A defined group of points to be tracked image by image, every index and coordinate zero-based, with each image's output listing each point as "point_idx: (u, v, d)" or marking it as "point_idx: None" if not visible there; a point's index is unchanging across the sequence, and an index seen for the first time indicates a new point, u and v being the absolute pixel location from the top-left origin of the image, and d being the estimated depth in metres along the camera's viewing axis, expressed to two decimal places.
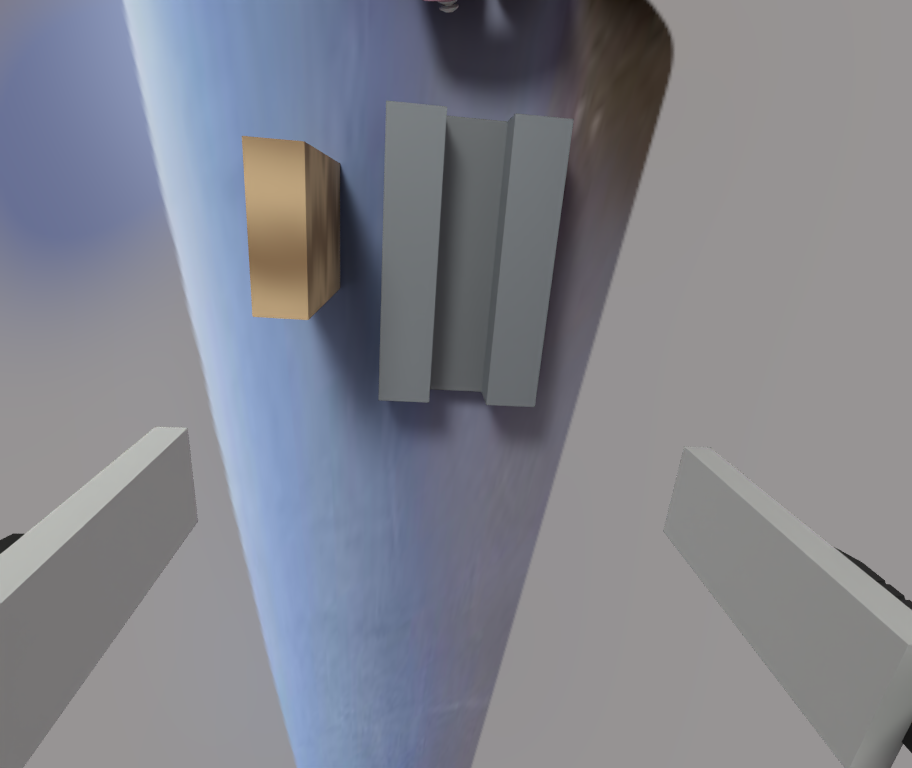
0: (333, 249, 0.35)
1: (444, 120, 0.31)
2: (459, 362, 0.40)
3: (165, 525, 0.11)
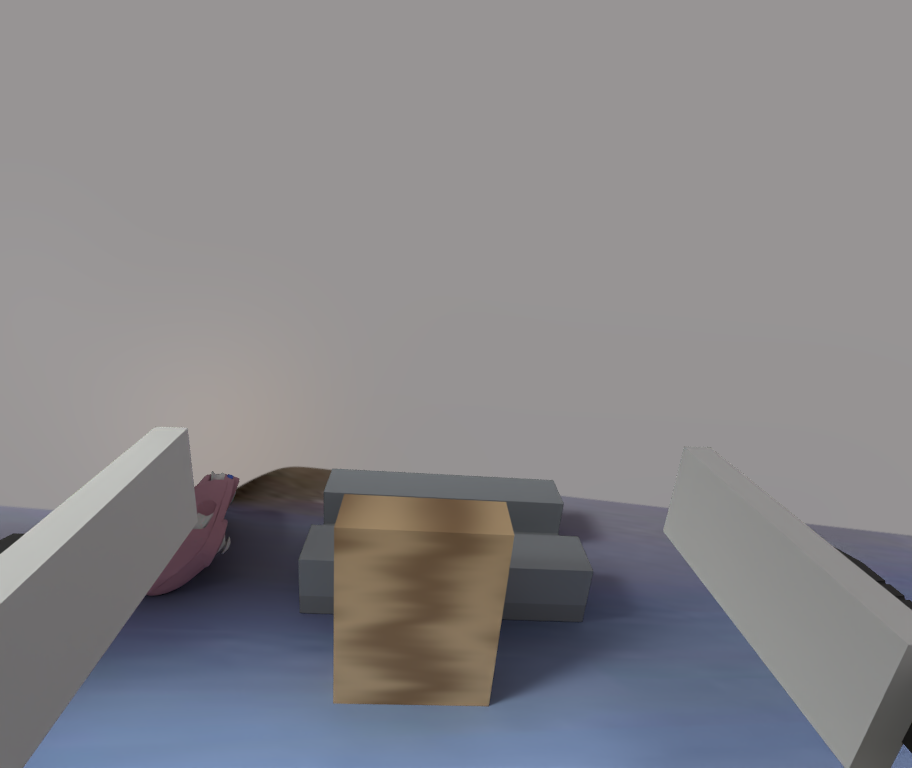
0: None
1: (322, 525, 0.36)
2: None
3: (165, 525, 0.11)
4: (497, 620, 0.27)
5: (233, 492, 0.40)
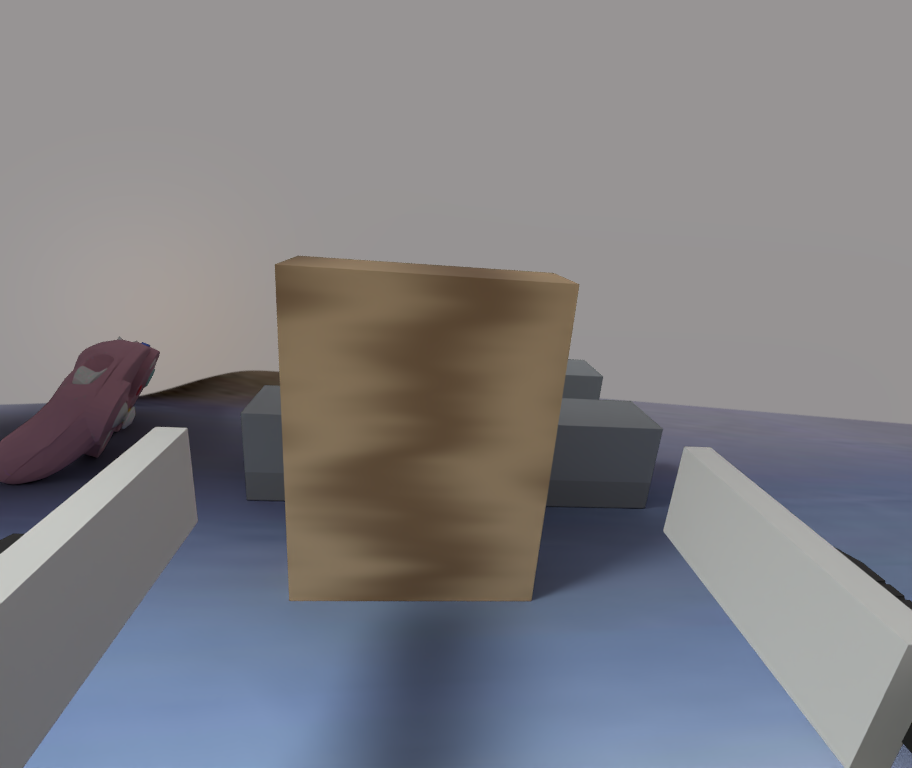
0: None
1: (279, 386, 0.26)
2: None
3: (165, 525, 0.11)
4: (547, 449, 0.17)
5: (148, 363, 0.29)
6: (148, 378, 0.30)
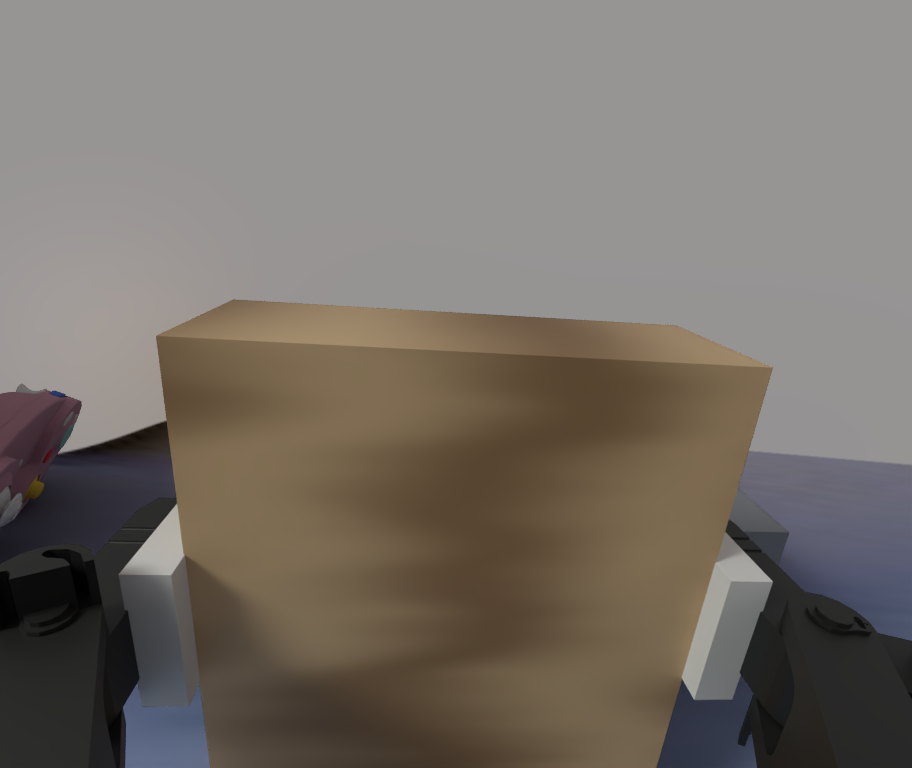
0: None
1: None
2: None
3: None
4: (679, 649, 0.09)
5: (59, 420, 0.22)
6: (62, 438, 0.23)
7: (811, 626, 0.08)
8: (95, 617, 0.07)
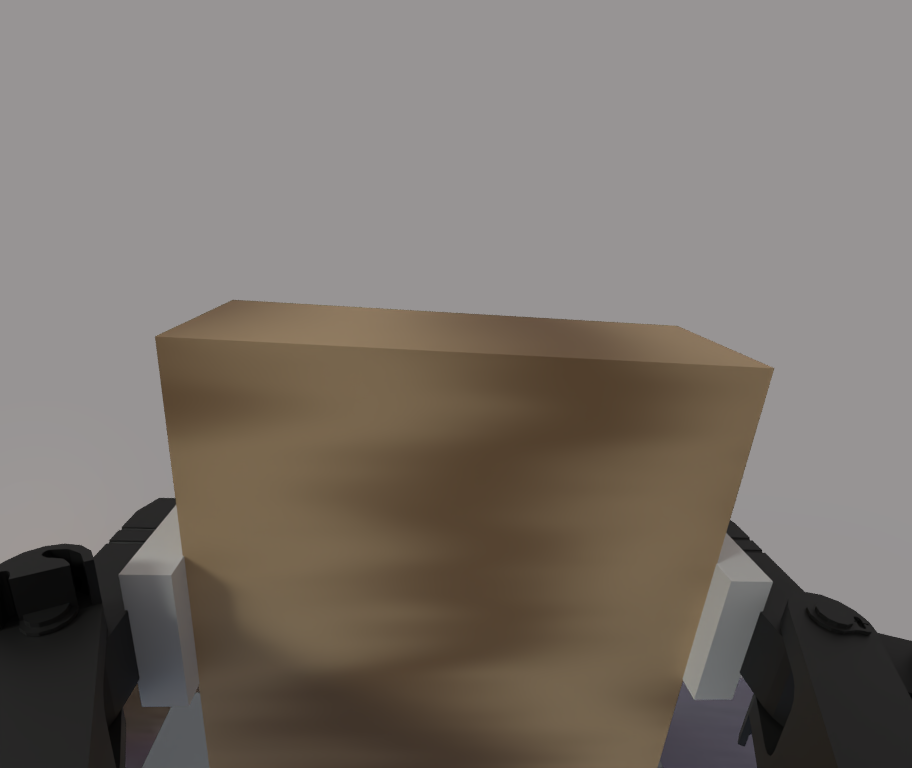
0: None
1: None
2: None
3: None
4: (680, 650, 0.09)
5: None
6: None
7: (811, 626, 0.08)
8: (95, 617, 0.07)
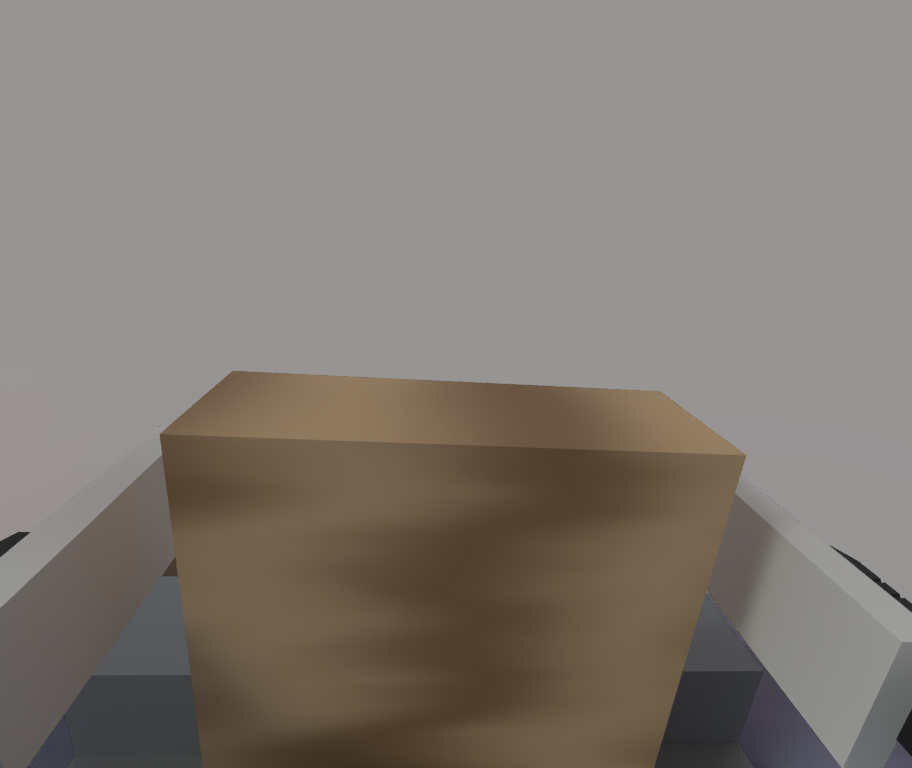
0: None
1: None
2: None
3: (168, 524, 0.11)
4: (660, 708, 0.10)
5: None
6: None
7: None
8: None
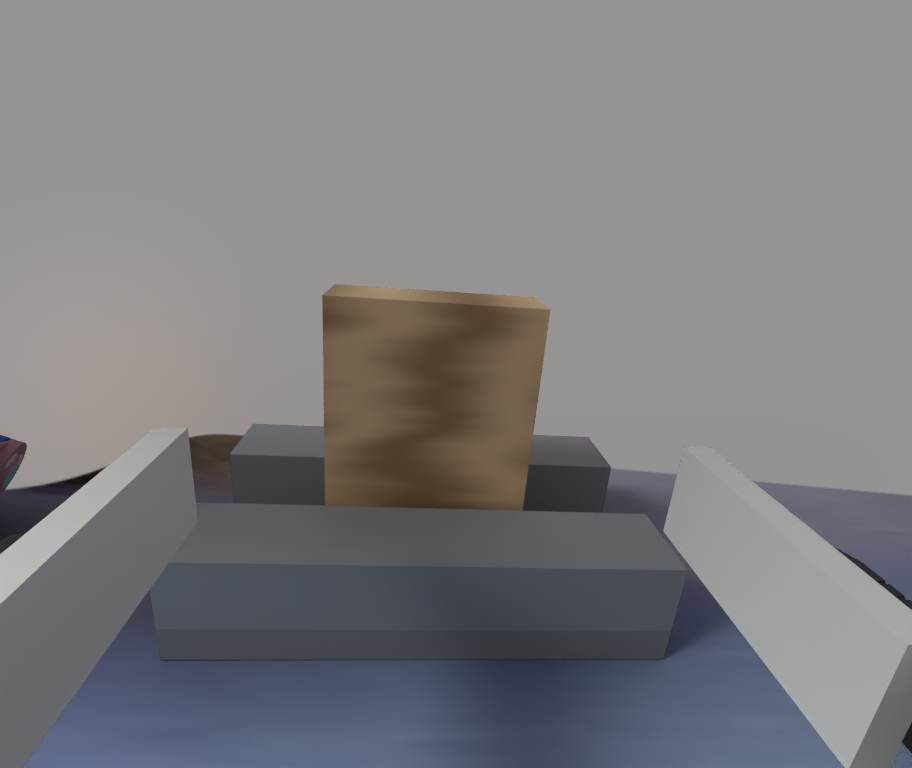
0: None
1: (210, 503, 0.21)
2: None
3: (165, 525, 0.11)
4: (527, 435, 0.22)
5: (0, 463, 0.24)
6: (5, 479, 0.24)
7: None
8: None
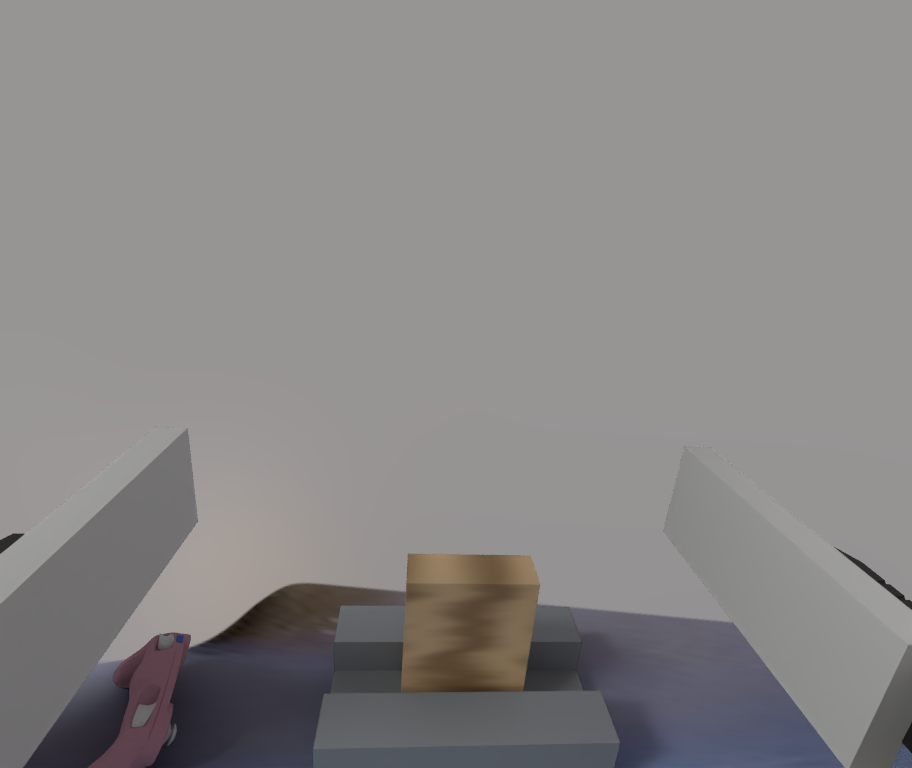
0: None
1: (335, 694, 0.35)
2: (554, 691, 0.39)
3: (165, 525, 0.11)
4: (526, 647, 0.35)
5: (183, 658, 0.37)
6: (182, 664, 0.38)
7: None
8: None
